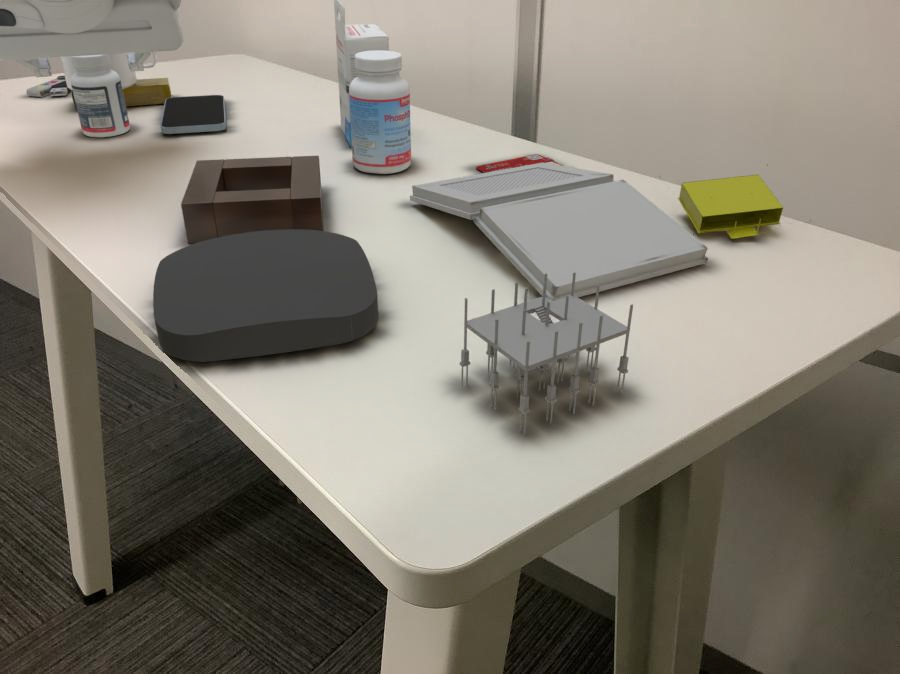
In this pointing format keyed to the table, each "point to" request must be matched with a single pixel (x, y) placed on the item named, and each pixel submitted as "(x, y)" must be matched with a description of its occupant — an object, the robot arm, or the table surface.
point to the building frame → (545, 340)
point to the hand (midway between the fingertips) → (90, 68)
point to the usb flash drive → (56, 88)
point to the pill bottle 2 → (380, 113)
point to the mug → (117, 65)
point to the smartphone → (193, 114)
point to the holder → (252, 196)
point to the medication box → (145, 92)
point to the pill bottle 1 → (99, 97)
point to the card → (515, 163)
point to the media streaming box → (263, 295)
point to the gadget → (568, 226)
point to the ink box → (352, 57)
